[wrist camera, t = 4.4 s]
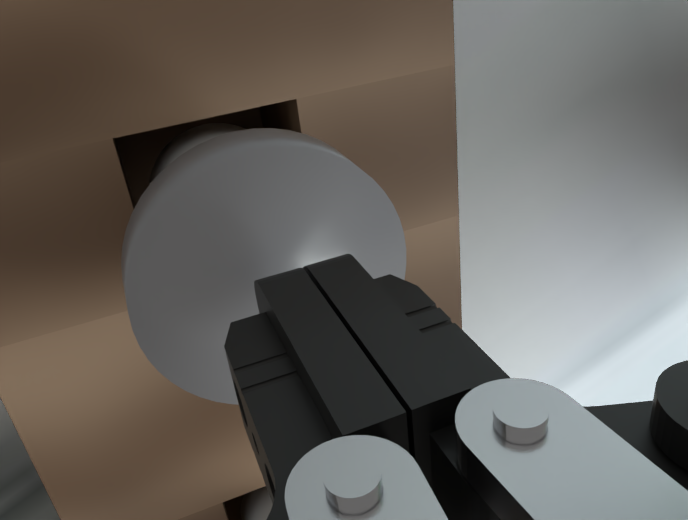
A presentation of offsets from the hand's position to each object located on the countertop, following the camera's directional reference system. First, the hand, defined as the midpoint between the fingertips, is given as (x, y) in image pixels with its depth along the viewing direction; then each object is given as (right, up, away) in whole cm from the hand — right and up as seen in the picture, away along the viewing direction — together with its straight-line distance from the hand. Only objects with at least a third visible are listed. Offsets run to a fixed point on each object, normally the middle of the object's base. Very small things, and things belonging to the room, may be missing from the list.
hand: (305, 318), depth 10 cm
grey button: (-2, +3, +5) cm, 7 cm away
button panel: (-3, 0, +12) cm, 12 cm away
